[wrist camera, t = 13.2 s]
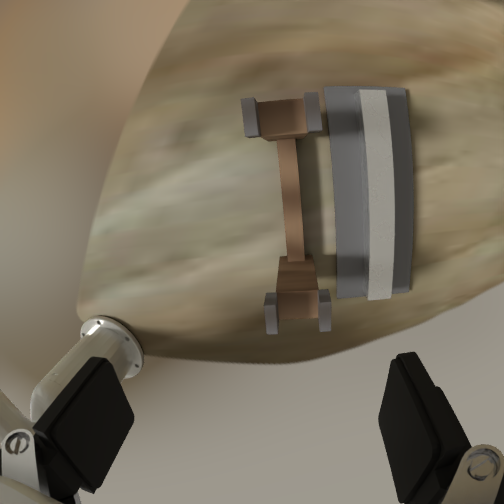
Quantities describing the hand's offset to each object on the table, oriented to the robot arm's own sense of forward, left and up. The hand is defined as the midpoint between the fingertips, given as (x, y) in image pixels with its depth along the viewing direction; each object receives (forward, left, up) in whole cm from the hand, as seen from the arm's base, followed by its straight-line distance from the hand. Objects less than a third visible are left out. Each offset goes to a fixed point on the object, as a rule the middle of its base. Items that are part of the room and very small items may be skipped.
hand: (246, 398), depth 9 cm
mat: (+11, -4, -29) cm, 31 cm away
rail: (+11, -4, -28) cm, 30 cm away
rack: (+2, +1, -29) cm, 29 cm away
